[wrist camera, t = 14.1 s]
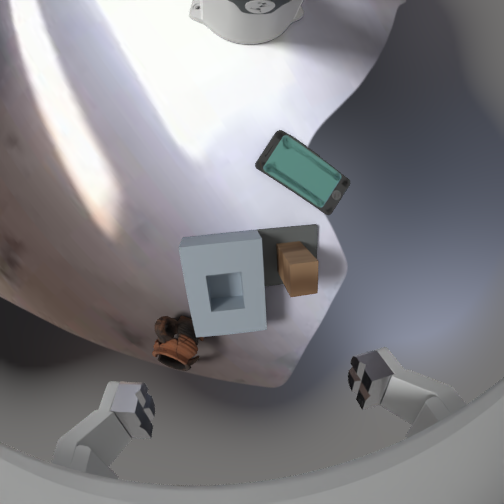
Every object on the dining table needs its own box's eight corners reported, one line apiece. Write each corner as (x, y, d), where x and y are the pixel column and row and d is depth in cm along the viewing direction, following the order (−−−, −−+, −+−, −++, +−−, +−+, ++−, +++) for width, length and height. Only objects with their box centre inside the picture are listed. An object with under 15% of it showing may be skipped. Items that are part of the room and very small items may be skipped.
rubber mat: (256, 229, 44) (257, 230, 44) (315, 224, 45) (316, 225, 44) (260, 285, 48) (260, 286, 47) (314, 278, 48) (316, 279, 48)
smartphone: (329, 216, 44) (254, 166, 40) (327, 215, 45) (253, 166, 41) (352, 180, 42) (280, 127, 38) (349, 180, 44) (278, 128, 39)
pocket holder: (182, 237, 43) (178, 247, 38) (256, 229, 44) (261, 238, 39) (197, 321, 48) (196, 337, 44) (262, 314, 50) (266, 329, 45)
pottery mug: (216, 338, 51) (203, 375, 45) (178, 336, 55) (165, 370, 49) (183, 300, 44) (165, 342, 38) (145, 301, 48) (126, 337, 42)
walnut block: (276, 243, 45) (290, 264, 36) (299, 241, 45) (318, 261, 37) (277, 271, 46) (290, 297, 38) (300, 268, 47) (317, 293, 38)
